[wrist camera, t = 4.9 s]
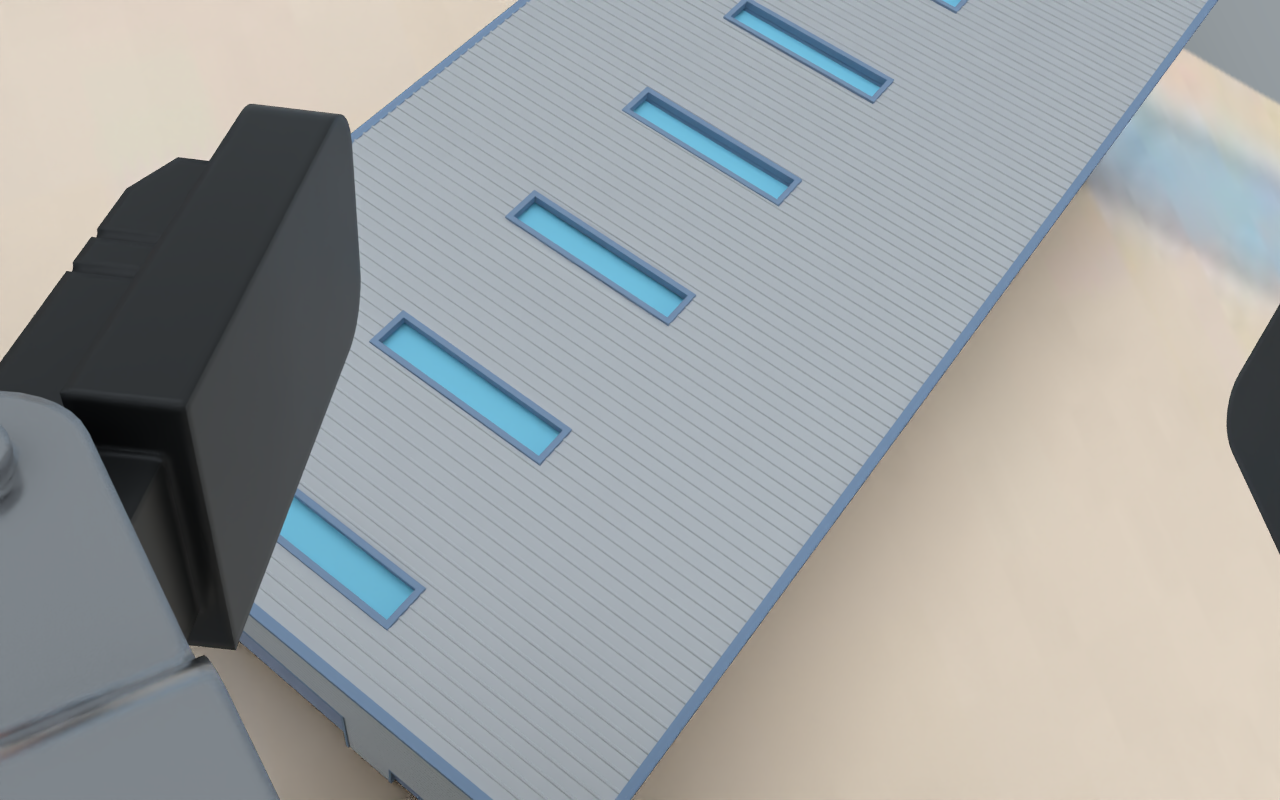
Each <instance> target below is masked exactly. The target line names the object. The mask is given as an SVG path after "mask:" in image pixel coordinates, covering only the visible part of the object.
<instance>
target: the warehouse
mask: <svg viewBox="0 0 1280 800" xmlns="http://www.w3.org/2000/svg"><path fill="white" fill-rule="evenodd" d="M1217 1H1218V0H519V1H517V2H516V3H515V4H514V5H512V6H511V7H510V8H508V9H507V10H506V11H505V12H503V13H502V14H501V15H500V16H498V17H497V18H496V19H495V20H493V21H492V22H491V23H490V24H488V25H487V26H486V27H485V28H483V29H482V30H481V31H480V32H478V33H477V34H476V35H474V36H473V37H472V38H471V39H469V40H468V41H467V42H466V43H464V44H463V45H462V46H461V47H459V48H458V49H457V50H456V51H454V52H453V53H452V54H451V55H449V56H448V57H447V58H446V59H444V60H443V61H442V62H441V63H439V64H438V65H437V66H435V67H434V68H433V69H432V70H430V71H429V72H428V73H427V74H425V75H424V76H423V77H422V78H420V79H419V80H418V81H417V82H415V83H414V84H413V85H412V86H410V87H409V88H408V89H407V90H405V91H404V92H403V93H402V94H400V95H399V96H398V97H396V98H395V99H394V100H393V101H391V102H390V103H389V104H388V105H386V106H385V107H384V108H383V109H381V110H380V111H379V112H378V113H376V114H375V115H374V116H373V117H371V118H370V119H369V120H368V121H366V122H365V123H364V124H363V125H361V126H360V127H359V128H357V129H356V130H355V131H354V132H352V133H351V139H352V150H353V165H354V180H355V195H356V211H357V226H358V241H359V256H360V272H361V290H360V304H359V313H358V319H357V325H356V330H355V335H354V338H353V342H352V345H351V348H350V351H349V354H348V356H347V359H346V361H345V364H344V367H343V369H342V372H341V375H340V377H339V380H338V382H337V385H336V388H335V390H334V393H333V396H332V398H331V401H330V403H329V406H328V409H327V411H326V414H325V417H324V419H323V422H322V424H321V427H320V430H319V432H318V435H317V438H316V440H315V443H314V445H313V448H312V451H311V453H310V456H309V459H308V461H307V464H306V466H305V469H304V472H303V474H302V477H301V480H300V482H299V485H298V487H297V490H296V493H295V495H294V498H293V501H292V503H291V506H290V508H289V511H288V514H287V516H286V519H285V522H284V524H283V527H282V529H281V532H280V535H279V537H278V540H277V543H276V545H275V548H274V551H273V553H272V556H271V558H270V561H269V564H268V566H267V569H266V572H265V574H264V577H263V579H262V582H261V585H260V587H259V590H258V593H257V595H256V598H255V600H254V603H253V606H252V608H251V611H250V614H249V616H248V619H247V621H246V624H245V627H244V629H243V632H242V635H241V637H240V640H239V641H240V642H241V643H242V644H243V645H244V646H246V647H247V648H248V649H249V650H250V651H251V652H252V653H254V654H255V655H256V656H257V657H258V658H259V659H260V660H262V661H263V662H264V663H265V664H266V665H267V666H269V667H270V668H271V669H272V670H273V671H274V672H275V673H277V674H278V675H279V676H280V677H281V678H282V679H284V680H285V681H286V682H287V683H288V684H289V685H290V686H292V687H293V688H294V689H295V690H296V691H297V692H298V693H300V694H301V695H302V696H303V697H304V698H305V699H307V700H308V701H309V702H310V703H311V704H312V705H313V706H315V707H316V708H317V709H318V710H319V711H320V712H322V713H323V714H324V715H325V716H326V717H327V718H328V719H330V720H331V721H332V722H333V723H334V724H335V725H336V726H338V727H339V728H340V729H341V730H342V731H343V732H344V736H345V741H346V746H348V747H351V748H352V749H353V750H354V751H355V752H356V753H358V754H359V755H360V756H361V757H362V758H363V759H365V760H366V761H367V762H368V763H369V764H370V765H371V766H373V767H374V768H375V769H376V770H377V771H378V772H379V773H381V774H382V775H383V776H384V777H385V778H386V779H388V780H389V782H390V783H392V782H393V781H394V780H397V781H398V782H399V783H400V784H401V785H402V786H403V787H405V788H406V789H407V790H408V791H409V792H410V793H411V794H413V795H414V796H415V797H416V798H417V799H418V800H631V799H632V798H633V796H634V795H635V794H636V792H637V791H638V789H639V788H640V787H641V785H642V784H643V783H644V781H645V780H646V779H647V777H648V776H649V774H650V773H651V772H652V770H653V769H654V768H655V766H656V765H657V764H658V762H659V761H660V760H661V758H662V757H663V755H664V754H665V753H666V751H667V750H668V749H669V747H670V746H671V745H672V743H673V742H674V740H675V739H676V738H677V736H678V735H679V734H680V732H681V731H682V730H683V728H684V727H685V725H686V724H687V723H688V721H689V720H690V719H691V717H692V716H693V715H694V713H695V712H696V711H697V709H698V708H699V706H700V705H701V704H702V702H703V701H704V700H705V698H706V697H707V696H708V694H709V693H710V691H711V690H712V689H713V687H714V686H715V685H716V683H717V682H718V681H719V679H720V678H721V676H722V675H723V674H724V672H725V671H726V670H727V668H728V667H729V666H730V664H731V663H732V662H733V660H734V659H735V657H736V656H737V655H738V653H739V652H740V651H741V649H742V648H743V647H744V645H745V644H746V642H747V641H748V640H749V638H750V637H751V636H752V634H753V633H754V632H755V630H756V629H757V627H758V626H759V625H760V623H761V622H762V621H763V619H764V618H765V617H766V615H767V614H768V612H769V611H770V610H771V608H772V607H773V606H774V604H775V603H776V602H777V600H778V599H779V598H780V596H781V595H782V593H783V592H784V591H785V589H786V588H787V587H788V585H789V584H790V583H791V581H792V580H793V578H794V577H795V576H796V574H797V573H798V572H799V570H800V569H801V568H802V566H803V565H804V563H805V562H806V561H807V559H808V558H809V557H810V555H811V554H812V553H813V551H814V550H815V549H816V547H817V546H818V544H819V543H820V542H821V540H822V539H823V538H824V536H825V535H826V534H827V532H828V531H829V529H830V528H831V527H832V525H833V524H834V523H835V521H836V520H837V519H838V517H839V516H840V514H841V513H842V512H843V510H844V509H845V508H846V506H847V505H848V504H849V502H850V501H851V499H852V498H853V497H854V495H855V494H856V493H857V491H858V490H859V489H860V487H861V486H862V485H863V483H864V482H865V480H866V479H867V478H868V476H869V475H870V474H871V472H872V471H873V470H874V468H875V467H876V465H877V464H878V463H879V461H880V460H881V459H882V457H883V456H884V455H885V453H886V452H887V450H888V449H889V448H890V446H891V445H892V444H893V442H894V441H895V440H896V438H897V437H898V436H899V434H900V433H901V431H902V430H903V429H904V427H905V426H906V425H907V423H908V422H909V421H910V419H911V418H912V416H913V415H914V414H915V412H916V411H917V410H918V408H919V407H920V406H921V404H922V403H923V401H924V400H925V399H926V397H927V396H928V395H929V393H930V392H931V391H932V389H933V388H934V387H935V385H936V384H937V382H938V381H939V380H940V378H941V377H942V376H943V374H944V373H945V372H946V370H947V369H948V367H949V366H950V365H951V363H952V362H953V361H954V359H955V358H956V357H957V355H958V354H959V352H960V351H961V350H962V348H963V347H964V346H965V344H966V343H967V342H968V340H969V339H970V337H971V336H972V335H973V333H974V332H975V331H976V329H977V328H978V327H979V325H980V324H981V323H982V321H983V320H984V318H985V317H986V316H987V314H988V313H989V312H990V310H991V309H992V308H993V306H994V305H995V303H996V302H997V301H998V299H999V298H1000V297H1001V295H1002V294H1003V293H1004V291H1005V290H1006V288H1007V287H1008V286H1009V284H1010V283H1011V282H1012V280H1013V279H1014V278H1015V276H1016V275H1017V274H1018V272H1019V271H1020V269H1021V268H1022V267H1023V265H1024V264H1025V263H1026V261H1027V260H1028V259H1029V257H1030V256H1031V254H1032V253H1033V252H1034V250H1035V249H1036V248H1037V246H1038V245H1039V244H1040V242H1041V241H1042V239H1043V238H1044V237H1045V235H1046V234H1047V233H1048V231H1049V230H1050V229H1051V227H1052V226H1053V224H1054V223H1055V222H1056V220H1057V219H1058V218H1059V216H1060V215H1061V214H1062V212H1063V211H1064V210H1065V208H1066V207H1067V205H1068V204H1069V203H1070V201H1071V200H1072V199H1073V197H1074V196H1075V195H1076V193H1077V192H1078V190H1079V189H1080V188H1081V186H1082V185H1083V184H1084V182H1085V181H1086V180H1087V178H1088V177H1089V175H1090V174H1091V173H1092V171H1093V170H1094V169H1095V167H1096V166H1097V165H1098V163H1099V162H1100V161H1101V159H1102V158H1103V156H1104V155H1105V154H1106V152H1107V151H1108V150H1109V148H1110V147H1111V146H1112V144H1113V143H1114V141H1115V140H1116V139H1117V137H1118V136H1119V135H1120V133H1121V132H1122V131H1123V129H1124V128H1125V126H1126V125H1127V124H1128V122H1129V121H1130V120H1131V118H1132V117H1133V116H1134V114H1135V113H1136V112H1137V110H1138V109H1139V107H1140V106H1141V105H1142V103H1143V102H1144V101H1145V99H1146V98H1147V97H1148V95H1149V94H1150V92H1151V91H1152V90H1153V88H1154V87H1155V86H1156V84H1157V83H1158V82H1159V80H1160V79H1161V77H1162V76H1163V75H1164V73H1165V72H1166V71H1167V69H1168V68H1169V67H1170V65H1171V64H1172V62H1173V61H1174V60H1175V58H1176V57H1177V56H1178V54H1179V53H1180V52H1181V50H1182V49H1183V48H1184V46H1185V45H1186V43H1187V42H1188V41H1189V39H1190V38H1191V37H1192V35H1193V34H1194V32H1195V31H1196V29H1197V28H1198V27H1199V25H1200V24H1201V23H1202V22H1203V20H1204V19H1205V18H1206V16H1207V15H1208V13H1209V12H1210V11H1211V9H1212V8H1213V7H1214V5H1215V4H1216V3H1217Z"/></svg>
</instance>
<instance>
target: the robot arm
mask: <svg viewBox="0 0 1280 800" xmlns="http://www.w3.org/2000/svg"><path fill="white" fill-rule="evenodd" d="M360 290H361V272H360V256H359V241H358V226H357V211H356V195H355V180H354V165H353V150H352V139H351V133H350V128H349V124H348V122H347V119H346V118H345V117H344V116H343V115H341V114H333V113H325V112H316V111H308V110H300V109H291V108H283V107H275V106H266V105H258V104H249V105H247V106H246V107H245V108H244V109H243V110H242V111H241V113H240V114H239V116H238V118H237V119H236V121H235V122H234V124H233V125H232V127H231V128H230V130H229V131H228V133H227V134H226V136H225V138H224V139H223V141H222V142H221V144H220V145H219V147H218V148H217V150H216V151H215V153H214V155H213V156H212V158H211V159H210V161H204V160H196V159H187V158H179V157H178V158H176V159H174V160H173V161H171V162H169V163H168V164H166V165H165V166H163V167H161V168H160V169H158V170H156V171H155V172H153V173H151V174H150V175H148V176H146V177H145V178H143V179H142V180H140V181H138V182H137V183H135V184H133V185H132V186H130V187H128V188H127V189H126V190H125V191H124V193H123V194H122V195H121V197H120V198H119V200H118V201H117V202H116V204H115V205H114V206H113V208H112V209H111V211H110V212H109V213H108V215H107V216H106V217H105V219H104V220H103V222H102V223H101V224H100V226H99V227H98V229H97V238H96V237H91V238H90V240H89V241H88V242H87V244H86V245H85V246H84V248H83V249H82V251H81V252H80V253H79V255H78V256H77V257H76V259H75V260H74V262H73V270H72V272H70V271H66V273H65V274H64V275H63V277H62V278H61V279H60V281H59V282H58V284H57V285H56V286H55V288H54V289H53V290H52V292H51V293H50V295H49V296H48V297H47V299H46V300H45V301H44V303H43V304H42V306H41V307H40V308H39V310H38V311H37V312H36V314H35V315H34V317H33V318H32V319H31V321H30V322H29V323H28V325H27V326H26V328H25V329H24V330H23V332H22V333H21V334H20V336H19V337H18V339H17V340H16V341H15V343H14V344H13V345H12V347H11V348H10V350H9V351H8V352H7V354H6V355H5V357H4V358H3V359H2V361H1V362H0V800H280V799H279V797H278V795H277V793H276V791H275V789H274V787H273V785H272V783H271V781H270V778H269V776H268V774H267V772H266V770H265V768H264V766H263V764H262V762H261V760H260V758H259V756H258V753H257V751H256V749H255V747H254V745H253V743H252V741H251V739H250V737H249V735H248V733H247V731H246V729H245V726H244V724H243V722H242V720H241V718H240V716H239V714H238V712H237V710H236V708H235V706H234V704H233V701H232V699H231V697H230V695H229V693H228V691H227V689H226V687H225V685H224V683H223V682H222V680H221V678H220V676H219V674H218V672H217V671H216V669H215V668H214V666H213V664H212V663H211V662H210V660H209V659H208V658H207V657H206V656H205V655H203V656H201V657H198V658H195V656H194V654H193V653H192V651H191V649H190V647H189V645H193V646H203V647H212V648H221V649H231V650H236V648H237V645H238V642H239V640H240V637H241V635H242V632H243V629H244V627H245V624H246V621H247V619H248V616H249V614H250V611H251V608H252V606H253V603H254V600H255V598H256V595H257V593H258V590H259V587H260V585H261V582H262V579H263V577H264V574H265V572H266V569H267V566H268V564H269V561H270V558H271V556H272V553H273V551H274V548H275V545H276V543H277V540H278V537H279V535H280V532H281V529H282V527H283V524H284V522H285V519H286V516H287V514H288V511H289V508H290V506H291V503H292V501H293V498H294V495H295V493H296V490H297V487H298V485H299V482H300V480H301V477H302V474H303V472H304V469H305V466H306V464H307V461H308V459H309V456H310V453H311V451H312V448H313V445H314V443H315V440H316V438H317V435H318V432H319V430H320V427H321V424H322V422H323V419H324V417H325V414H326V411H327V409H328V406H329V403H330V401H331V398H332V396H333V393H334V390H335V388H336V385H337V382H338V380H339V377H340V375H341V372H342V369H343V367H344V364H345V361H346V359H347V356H348V354H349V351H350V348H351V345H352V342H353V338H354V335H355V330H356V325H357V319H358V313H359V304H360ZM1227 434H1228V440H1229V444H1230V448H1231V450H1232V453H1233V455H1234V457H1235V459H1236V461H1237V464H1238V466H1239V468H1240V470H1241V472H1242V474H1243V476H1244V479H1245V481H1246V483H1247V485H1248V487H1249V489H1250V491H1251V494H1252V496H1253V498H1254V500H1255V502H1256V504H1257V506H1258V509H1259V511H1260V513H1261V515H1262V517H1263V519H1264V521H1265V524H1266V526H1267V528H1268V530H1269V532H1270V534H1271V536H1272V539H1273V541H1274V543H1275V545H1276V547H1277V549H1278V551H1279V554H1280V305H1279V306H1278V308H1277V310H1276V312H1275V313H1274V315H1273V317H1272V318H1271V320H1270V322H1269V324H1268V325H1267V327H1266V329H1265V330H1264V332H1263V334H1262V336H1261V337H1260V339H1259V341H1258V342H1257V344H1256V346H1255V348H1254V349H1253V351H1252V353H1251V354H1250V356H1249V358H1248V360H1247V361H1246V363H1245V365H1244V366H1243V368H1242V370H1241V372H1240V373H1239V375H1238V377H1237V379H1236V381H1235V383H1234V386H1233V389H1232V391H1231V395H1230V399H1229V404H1228V410H1227Z"/></svg>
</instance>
